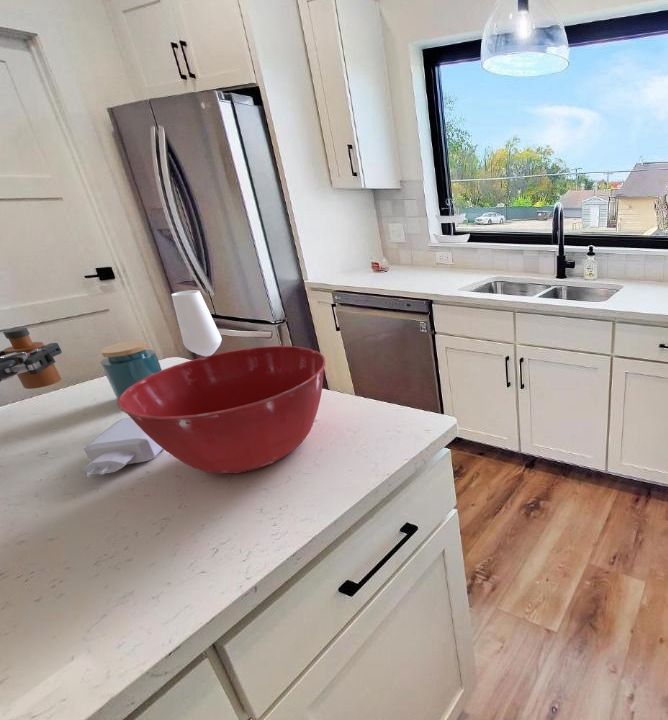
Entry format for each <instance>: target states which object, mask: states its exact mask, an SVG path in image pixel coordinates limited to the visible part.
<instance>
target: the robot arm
mask: <svg viewBox="0 0 668 720" xmlns="http://www.w3.org/2000/svg"><path fill="white" fill-rule="evenodd" d="M44 345H45V346H42V347H40V348H37V349H34V350H31V351H28V352H14V353H10V354H7V355H6V354H5V352H4V349H2V350H0V383H1V382H2V381H6V380H9V379H12V378H13V377H14V376H16V375H17V374H20V373H23V372H26V371H28V372H29V374H37V373H39V372H41V371H42V370H44V369H45V368H47V367H49V366H50V365H52V364H53V363H54V364H55V363H56V360H55V358H54V357H56V356H59V355H61V354H62V353H63V351H62V348H61V347H60V345H59V344H58V342H50V343H48V344H44ZM30 355H32V356H30ZM28 356H30V357H29V358H28ZM14 357H16V358H17V359H18V361H19V363H20V364H18V362H17V361H16V359H14Z"/></svg>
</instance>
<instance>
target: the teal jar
mask: <svg viewBox="0 0 668 720" xmlns="http://www.w3.org/2000/svg"><path fill="white" fill-rule="evenodd" d="M148 347H149V345H148V342H147V341H146V340H129V341H123V342H118V343H114V344H111V345H108V346H105V347H103V348H101V349H99V353H100V356H101V357H103V358H104V359H102V360H101V361H100V363H99V364H100V366H101V368H102V370H103V372H104V375H105V376H106V379H107V381H108V383H109V385H110V387H111V389H112V391H113V394H114V397H115V398H116V400H117V401H118V400H119V397H120V396H121V395H122V393H123V392H124V391H125V390H126V389H128V388H129V387H130V386H132V385H134V384H135V383H137V382H139V381H140V380H142V379H144V378H146V377H148V376H150V375H152V374H154V373H157V372H159V371H161V370H163V368H162V366H161V364H160V362H159V359H158V356H157V354H156V351H155V350H154V349H148Z"/></svg>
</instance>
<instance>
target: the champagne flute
mask: <svg viewBox="0 0 668 720" xmlns="http://www.w3.org/2000/svg"><path fill="white" fill-rule="evenodd" d="M170 296H171V299H172V303H173V307H174V312H175V315H176V319H177V323H178V327H179V331H180V335H181V340H182V343H183V346H184V348H185V349H187V350H188V351H189V352H191V353H194V354H196V355H199V356H202V357H206V356H210V355H214V354H215V353H216V351H217V350H218V348H220V346H221V344H222V335H221V334H220V331H219V329H218V327H217V325H216V322H215V321H214V319H213V317H212V314H211V312H210V309H209V308H208V306H207V304H206V302H205V299H204V298H203V295H202V293H201V291H200V290H199V289H191V290H183V291H182V290H181V291H178V292H174V293H171V295H170Z"/></svg>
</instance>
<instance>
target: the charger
mask: <svg viewBox="0 0 668 720" xmlns="http://www.w3.org/2000/svg"><path fill="white" fill-rule="evenodd" d="M162 450H164V449H163V448H162V447H161V446H159V445H158V444H157V443H156V442H154V441H153V440H152V439H151V438H150V437H149V436H148V435H147V434H146V433H145V432H144V431H143V430H142V429H141V428H140V427H139V426H138V425H137V424H136V423H135V422H134V421H133V420H132V418H131V417H125V418H120V419H119V420H118V421H116V422H115V423H113V424H112V425H111V426H110V427H108V428H107V429H106V430H104V432H102V433H100V435H98V436H97V437H96V438H94V439H93V440H92V441H90V442H89V443H88V444H86V445H85V446H84V447H83V451H84V453H85V455H86V457H87V459H88V461H89V463H88V464H86V465H85V466H84V467H83V469H82V471H83V472H86V473H87V474H86V477H91V476H92V475H93V474H95V475H101V476H102V475H104V474H108V473H116V472H117V471H119V470H120V469H123V468H124V467H125V466H126V465H131V464H139V463H143V462H149V461H151V460H154V458H156V457H157V456H158V454H159V453H161V451H162Z"/></svg>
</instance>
